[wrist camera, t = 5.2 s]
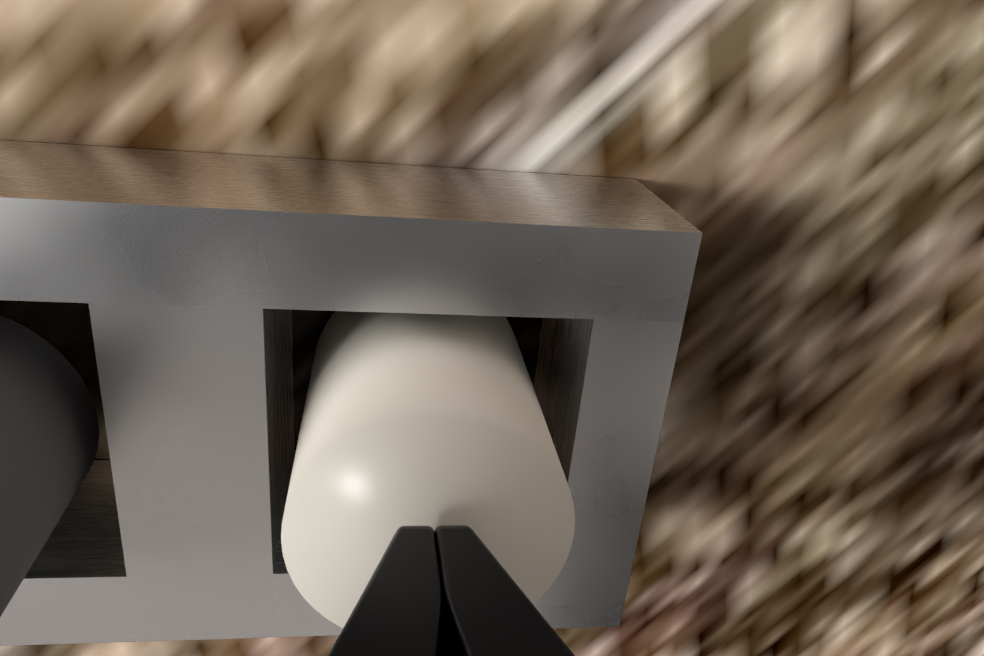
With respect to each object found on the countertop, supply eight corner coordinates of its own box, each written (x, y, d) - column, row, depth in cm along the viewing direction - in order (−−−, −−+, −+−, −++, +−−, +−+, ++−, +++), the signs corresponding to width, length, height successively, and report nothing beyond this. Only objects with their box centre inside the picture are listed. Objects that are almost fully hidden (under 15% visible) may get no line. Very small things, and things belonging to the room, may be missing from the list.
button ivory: (530, 278, 13) (594, 413, 9) (509, 456, 14) (556, 641, 10) (312, 270, 12) (276, 410, 8) (314, 456, 14) (284, 649, 10)
